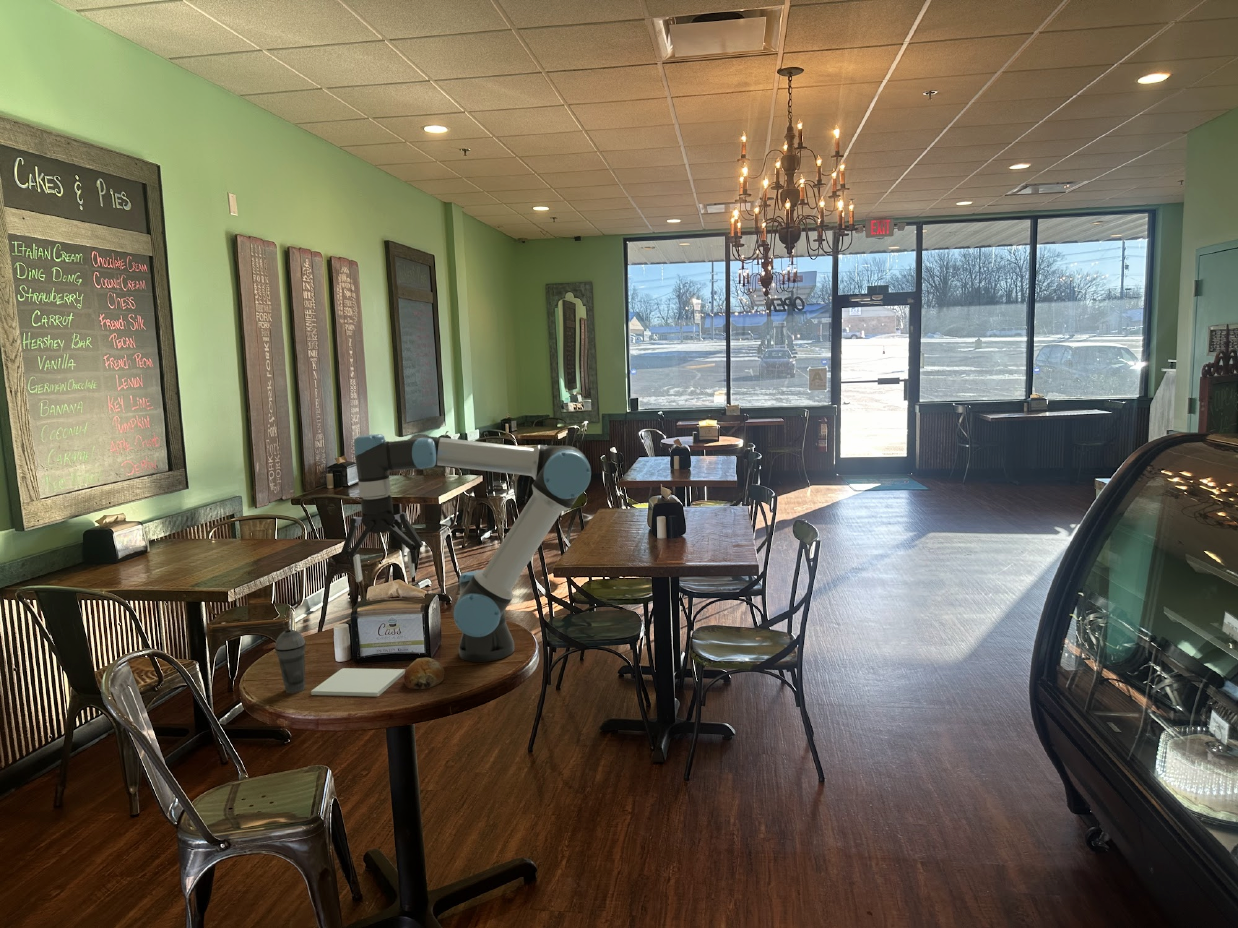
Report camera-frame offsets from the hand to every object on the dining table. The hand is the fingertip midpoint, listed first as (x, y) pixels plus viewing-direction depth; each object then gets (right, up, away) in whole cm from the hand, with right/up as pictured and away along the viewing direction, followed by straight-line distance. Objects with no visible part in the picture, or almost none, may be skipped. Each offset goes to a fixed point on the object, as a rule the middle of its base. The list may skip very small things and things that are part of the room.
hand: (386, 578), depth 209 cm
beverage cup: (-23, -28, 0) cm, 37 cm away
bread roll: (+10, -27, 0) cm, 28 cm away
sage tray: (-7, -27, +1) cm, 28 cm away
